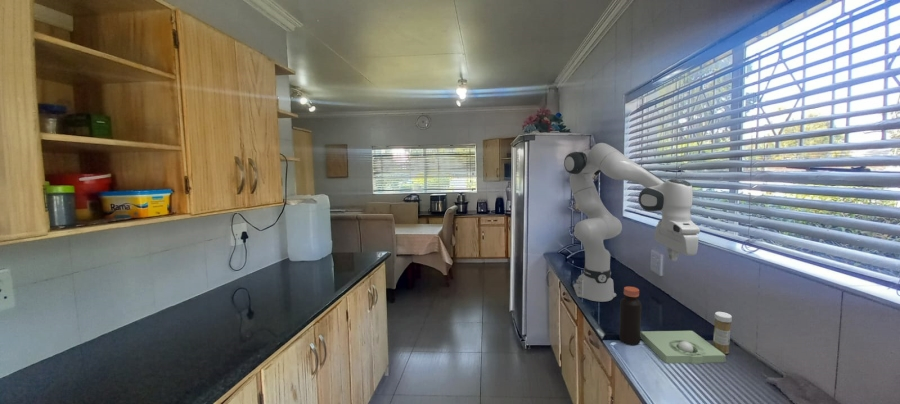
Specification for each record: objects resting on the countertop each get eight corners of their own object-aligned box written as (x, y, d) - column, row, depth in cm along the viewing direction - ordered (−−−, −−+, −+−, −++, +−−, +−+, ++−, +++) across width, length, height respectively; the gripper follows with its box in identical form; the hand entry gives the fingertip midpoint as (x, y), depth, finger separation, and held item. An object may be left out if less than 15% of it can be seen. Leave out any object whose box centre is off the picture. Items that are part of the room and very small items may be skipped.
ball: (685, 354, 113) (678, 355, 117) (698, 354, 113) (690, 355, 117) (680, 340, 115) (673, 342, 119) (693, 340, 115) (686, 341, 119)
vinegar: (631, 335, 129) (633, 284, 127) (644, 344, 123) (646, 291, 120) (615, 337, 128) (616, 286, 126) (627, 346, 121) (629, 293, 119)
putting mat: (640, 337, 127) (640, 331, 127) (691, 337, 127) (692, 330, 126) (667, 364, 111) (667, 356, 110) (726, 363, 110) (726, 356, 110)
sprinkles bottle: (716, 346, 120) (719, 310, 119) (731, 352, 116) (734, 315, 115) (709, 349, 118) (712, 312, 117) (724, 356, 114) (727, 318, 113)
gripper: (651, 218, 135) (648, 251, 137) (684, 230, 115) (680, 269, 117) (667, 218, 135) (664, 251, 137) (703, 230, 115) (699, 269, 117)
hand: (672, 259), depth 127 cm, fingers closed
